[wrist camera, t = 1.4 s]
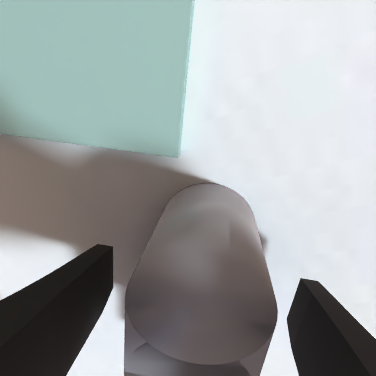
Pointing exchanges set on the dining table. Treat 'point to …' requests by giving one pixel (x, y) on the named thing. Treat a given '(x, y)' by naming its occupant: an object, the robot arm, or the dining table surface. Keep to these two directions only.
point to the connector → (200, 291)
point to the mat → (96, 72)
